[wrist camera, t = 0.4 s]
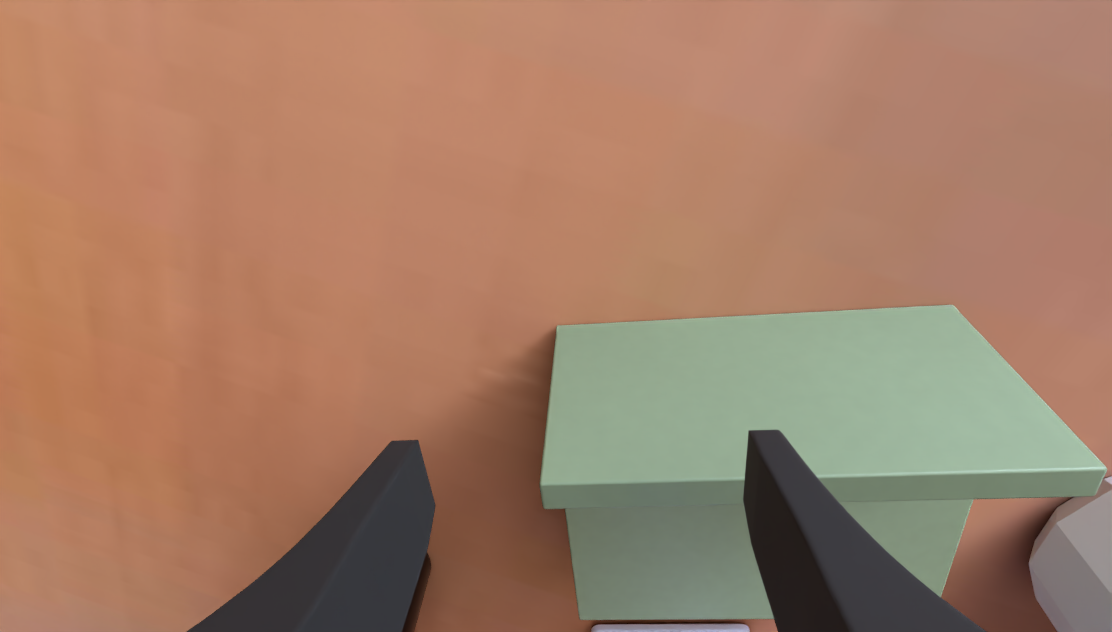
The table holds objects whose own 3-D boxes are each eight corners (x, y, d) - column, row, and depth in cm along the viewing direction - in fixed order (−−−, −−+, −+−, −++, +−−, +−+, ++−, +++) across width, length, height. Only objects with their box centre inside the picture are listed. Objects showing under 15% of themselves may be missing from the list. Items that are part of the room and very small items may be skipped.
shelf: (894, 536, 28) (987, 727, 22) (581, 541, 30) (576, 723, 23) (953, 304, 22) (1109, 468, 15) (556, 325, 24) (538, 484, 17)
